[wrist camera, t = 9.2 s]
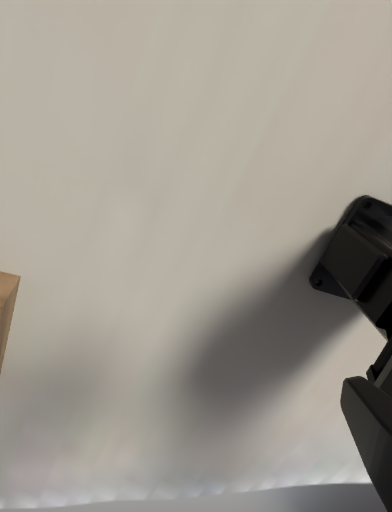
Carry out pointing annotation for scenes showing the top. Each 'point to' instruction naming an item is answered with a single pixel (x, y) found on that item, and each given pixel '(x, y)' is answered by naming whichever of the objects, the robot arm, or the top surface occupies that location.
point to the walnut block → (6, 307)
